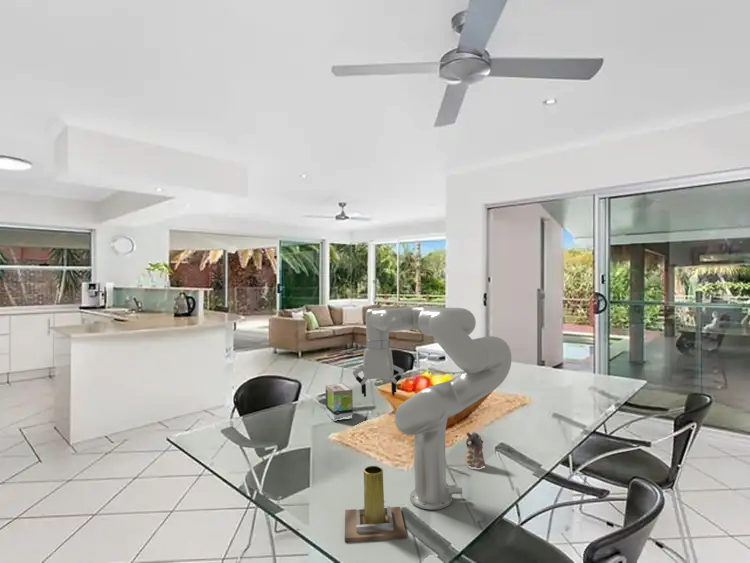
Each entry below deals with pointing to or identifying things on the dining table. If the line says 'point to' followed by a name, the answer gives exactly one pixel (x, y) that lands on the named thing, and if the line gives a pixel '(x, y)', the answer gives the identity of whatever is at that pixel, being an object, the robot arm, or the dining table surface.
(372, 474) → the vase
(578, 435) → the dining table surface
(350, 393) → the tea box
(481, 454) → the figurine
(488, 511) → the dining table surface
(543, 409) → the dining table surface
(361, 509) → the socket board
